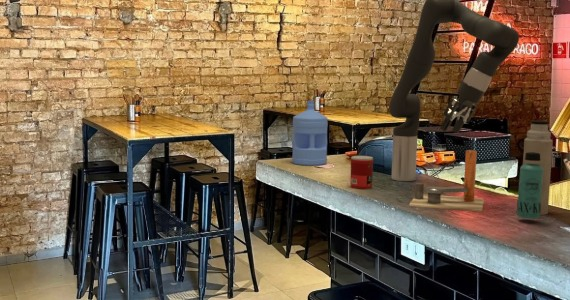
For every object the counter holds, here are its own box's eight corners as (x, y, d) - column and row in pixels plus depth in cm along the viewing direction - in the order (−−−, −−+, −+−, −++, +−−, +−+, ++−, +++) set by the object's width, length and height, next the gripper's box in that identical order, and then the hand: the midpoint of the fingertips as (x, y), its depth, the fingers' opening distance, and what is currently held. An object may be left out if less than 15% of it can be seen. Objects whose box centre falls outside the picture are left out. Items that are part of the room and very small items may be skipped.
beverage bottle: (512, 218, 189) (516, 150, 186) (534, 218, 189) (538, 150, 187) (522, 224, 182) (526, 154, 180) (544, 224, 183) (549, 154, 180)
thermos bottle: (519, 208, 203) (525, 119, 200) (547, 210, 201) (553, 120, 197) (520, 213, 196) (525, 121, 192) (548, 215, 193) (554, 122, 190)
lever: (429, 203, 204) (431, 152, 202) (421, 199, 210) (423, 150, 208) (478, 201, 207) (480, 152, 205) (469, 197, 213) (471, 149, 211)
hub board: (416, 195, 221) (417, 179, 221) (484, 200, 214) (484, 183, 214) (409, 206, 204) (409, 188, 204) (482, 211, 197) (483, 193, 197)
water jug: (290, 160, 298) (290, 99, 295) (323, 160, 300) (325, 100, 296) (294, 166, 283) (295, 101, 279) (329, 165, 285) (331, 102, 281)
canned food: (371, 189, 231) (372, 159, 230) (349, 188, 233) (349, 158, 231) (373, 185, 238) (373, 156, 237) (351, 184, 240) (352, 155, 239)
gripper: (474, 83, 208) (449, 127, 212) (454, 76, 197) (429, 123, 201) (493, 93, 203) (468, 138, 208) (474, 87, 192) (448, 135, 197)
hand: (448, 131), depth 205 cm, fingers open, 8 cm apart
